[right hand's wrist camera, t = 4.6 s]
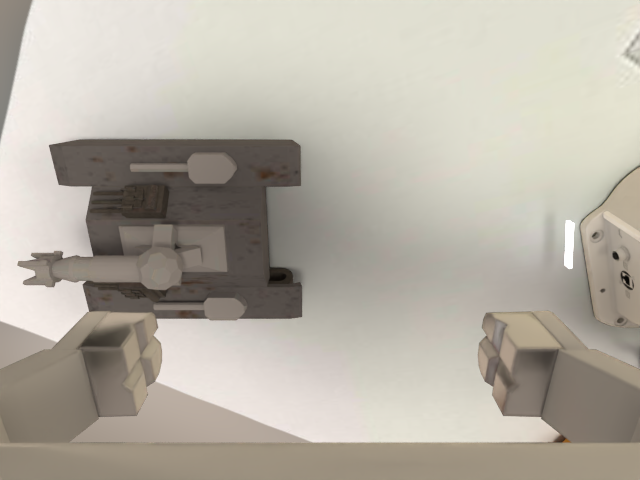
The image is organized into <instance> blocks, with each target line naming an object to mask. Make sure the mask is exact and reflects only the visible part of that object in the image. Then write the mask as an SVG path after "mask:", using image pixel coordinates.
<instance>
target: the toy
mask: <svg viewBox="0 0 640 480" xmlns="http://www.w3.org/2000/svg"><path fill="white" fill-rule="evenodd" d="M49 147H50V151H51V155H52V159H53V163H54V167H55V171H56V175H57V179H58V183H59V185H65V186H92V191H91V196H90V201H89V206H88V211H87V216H86V223H87V228H88V233H89V237H90V242H91V247H92V251H93V257H80V256H77V255H76V256H72V257H68V258H64V259H63V258H62V255H63V252H61V251H54V253H32V254H31V256H32V257H34V258H36V259H35V260H30V261H19V262H18V266H20V267H23V268H27V269H31V270H34V271H35V275H36V276H34V277H32V278H29V279H27V280H25V281H23V284H24V285H45V286H46V287H54V286H55V282H59V281H61V280H62V279H64V280H68V281H71V282H78V281H86V282H85V283H84V284H83V288H84V292H85V296H86V300H87V304H88V308H89V312H92V311H111V312H112V311H125V312H152V313H153V314H154V315H155V316H156V319H210V320H237V319H291V318H298V317H302V285H301V283H293V275H292V273H291V271H289V270H287V269H283V268H269V250H268V229H267V208H266V187H281V186H301V164H300V145H298V144H297V143H296V142H294V141H293V140H75V141H70V142H64V143H58V144H53V145H49Z"/></svg>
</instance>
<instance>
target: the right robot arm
mask: <svg viewBox="0 0 640 480" xmlns="http://www.w3.org/2000/svg"><path fill="white" fill-rule="evenodd" d="M580 230H581V236H582V243H583V249H584V255H585V261H586V268H587V274H588V280H589V286H590V293H591V299H592V305H593V311H594V316H595V318H596V319H597V320H599V321H600V322H602V323H604V324H607V325H610V326H615V327H623V328H638V327H640V167H639V168H637V169H636V170H634V171H633V172H632V173H630V174H629V175H628V176H627V177H625V178H624V179H623V180H622V181H621V182H620V183H619V184H618V186H617V187H616V188H615V189H614V190H613V192H612V193H611V195H610V196H609V197H608V199H607V200H606V201H605V202H604V204H603V205H602V206H600V207H599V208H598V209H596V210H595V211H593V212H592V213H591V214H589V215H588V216H587V217H586V218H585V219H584V220H583V221H582V223H581V226H580ZM594 233H596V234H595V236H593V237H592V235H593V234H594ZM573 235H574V223H573V222H571V221H569V220H568V221H566V242H565V266H567V267H568V268H569V269H570V268H572V257H573ZM157 329H158V325H157V320H156V316H155V315H154V314H153V313H152V312H125V311H112V312H111V311H92V312H87V313H86V314H85V315H84V316H83V317H82V318H81V319H80V320H79V321H78V322H77V323H76V324H75V326H74V327H73V328H72V329H71V330H70V331H69V332H68V333H67V334H66V335H65V336H64V337H63V338H62V339H61V340H60V341H59V342H58V343H57V344H56V345H55V346H54V347H53V348H52V349H48V350H47V349H46V350H42V351H40V352H38V353H35V354H33V355H31V356H29V357H26V358H24V359H22V360H20V361H18V362H15V363H13V364H11V365H9V366H7V367H4V368H2V369H0V480H640V369H638V368H636V367H633V366H631V365H629V364H627V363H625V362H622V361H620V360H618V359H616V358H613V357H611V356H609V355H607V354H605V353H602V352H600V351H598V350H594V349H588V348H587V347H586V346H585V345H584V344H583V343H582V342H581V341H580V340H579V339H578V338H577V337H576V336H575V335H574V334H573V333H572V332H571V331H570V330H569V328H568V327H567V326H566V325H565V324H564V323H563V322H562V321H561V320H560V319H559V318H558V317H557V316H556V315H555V314H554V313H552V312H550V311H530V312H491V313H486V314H485V317H484V319H483V324H482V329H483V330H484V332H485V333H486V335H487V336H486V337H485V338H484V339H483V340H482V341H481V342H480V343H479V349H478V363H479V368H480V372H481V375H482V377H483V379H484V380H485V382H487V383H488V384H490V385H491V386H493V392H492V396H493V397H494V399H495V401H496V403H497V405H498V407H499V409H500V410H501V412H502V414H503V416H526V417H541V419H542V420H544V421H545V422H546V423H547V424H549V425H550V426H551V427H552V428H554V429H555V430H556V431H558V432H559V433H560V434H561V435H563V436H564V437H565V438H566V439H568V440H569V441H570V442H571V443H69V442H70V441H71V440H72V439H74V438H75V437H76V436H77V435H79V434H80V433H81V432H83V431H84V430H85V429H86V428H88V427H89V426H90V425H91V424H93V423H94V422H95V421H97V420H98V419H99V418H98V417H114V416H137V414H138V412H139V410H140V409H141V407H142V405H143V403H144V401H145V399H146V397H147V396H148V392H147V386H149V385H150V384H152V383H153V382H155V380H156V378H157V376H158V374H159V372H160V368H161V363H162V348H161V343H160V342H159V341H158V340H157V339H156V338H155V337H154V336H153V335H154V333H155V332H156V330H157Z"/></svg>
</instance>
